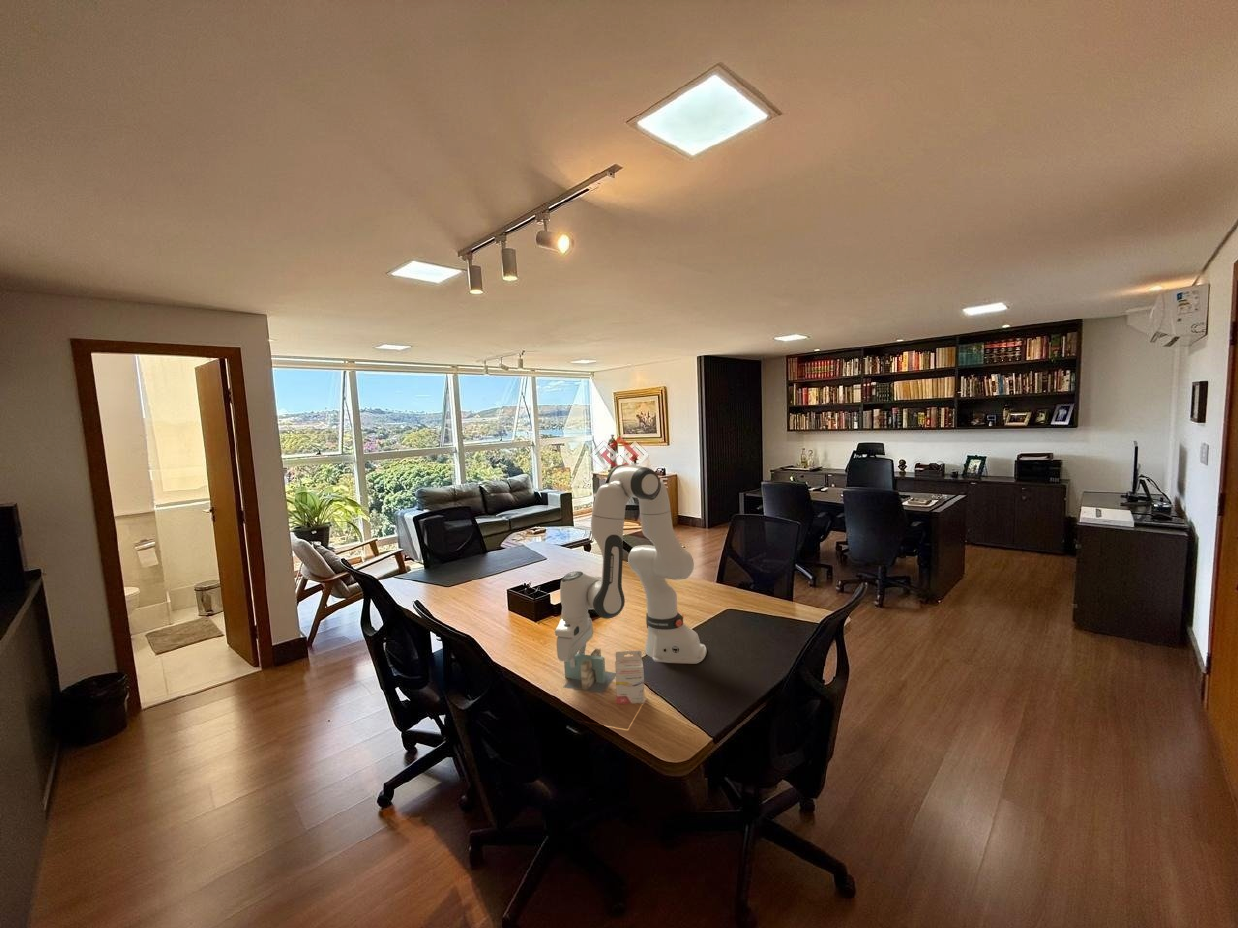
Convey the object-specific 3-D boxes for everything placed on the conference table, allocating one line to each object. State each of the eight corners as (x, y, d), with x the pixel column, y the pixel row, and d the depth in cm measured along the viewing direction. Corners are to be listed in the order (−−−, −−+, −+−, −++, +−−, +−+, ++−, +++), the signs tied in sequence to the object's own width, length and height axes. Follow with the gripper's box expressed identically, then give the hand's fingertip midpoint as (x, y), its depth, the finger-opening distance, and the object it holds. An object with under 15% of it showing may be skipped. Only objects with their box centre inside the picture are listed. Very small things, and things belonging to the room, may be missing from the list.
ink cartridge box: (617, 705, 149) (614, 658, 147) (616, 696, 154) (614, 651, 152) (645, 704, 149) (643, 657, 148) (644, 695, 154) (641, 649, 153)
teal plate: (605, 680, 163) (604, 657, 162) (603, 683, 161) (602, 659, 160) (567, 674, 168) (566, 652, 167) (565, 677, 166) (563, 654, 165)
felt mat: (617, 674, 167) (617, 673, 167) (602, 694, 155) (602, 693, 155) (580, 668, 172) (580, 667, 172) (563, 688, 160) (562, 686, 160)
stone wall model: (596, 670, 169) (595, 648, 169) (601, 671, 169) (600, 649, 168) (582, 689, 158) (580, 665, 157) (587, 689, 158) (585, 665, 157)
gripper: (580, 608, 174) (582, 646, 176) (552, 633, 155) (554, 675, 157) (596, 610, 172) (598, 648, 173) (570, 635, 153) (572, 678, 154)
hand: (577, 661), depth 165 cm, fingers open, 5 cm apart
